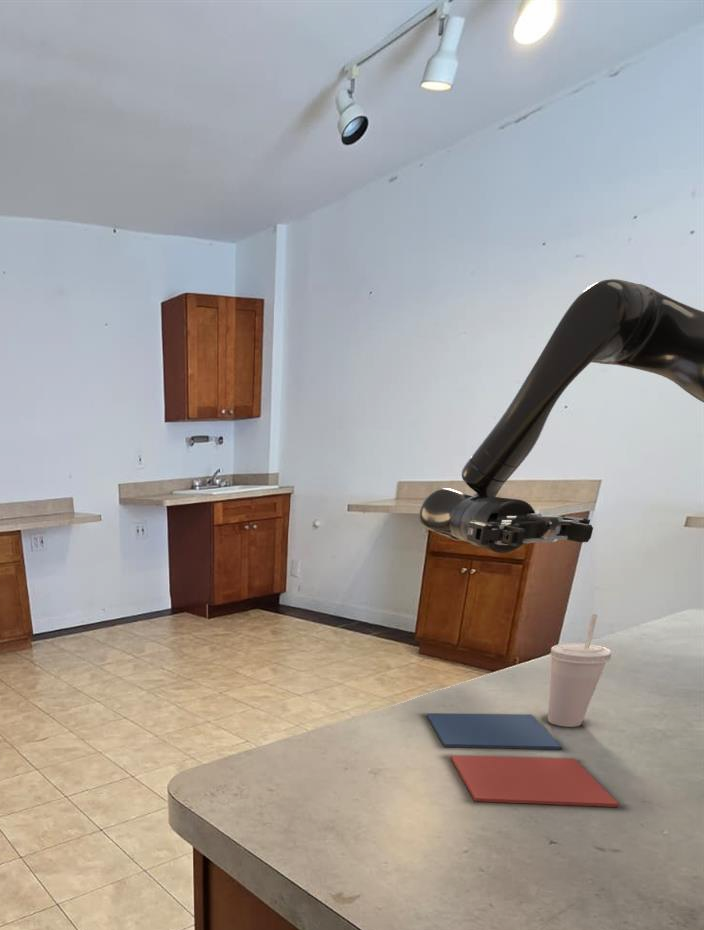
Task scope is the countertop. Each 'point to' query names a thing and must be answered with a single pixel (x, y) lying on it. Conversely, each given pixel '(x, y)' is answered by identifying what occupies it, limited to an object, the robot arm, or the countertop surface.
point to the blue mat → (491, 731)
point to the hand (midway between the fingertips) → (554, 536)
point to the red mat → (530, 781)
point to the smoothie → (574, 678)
